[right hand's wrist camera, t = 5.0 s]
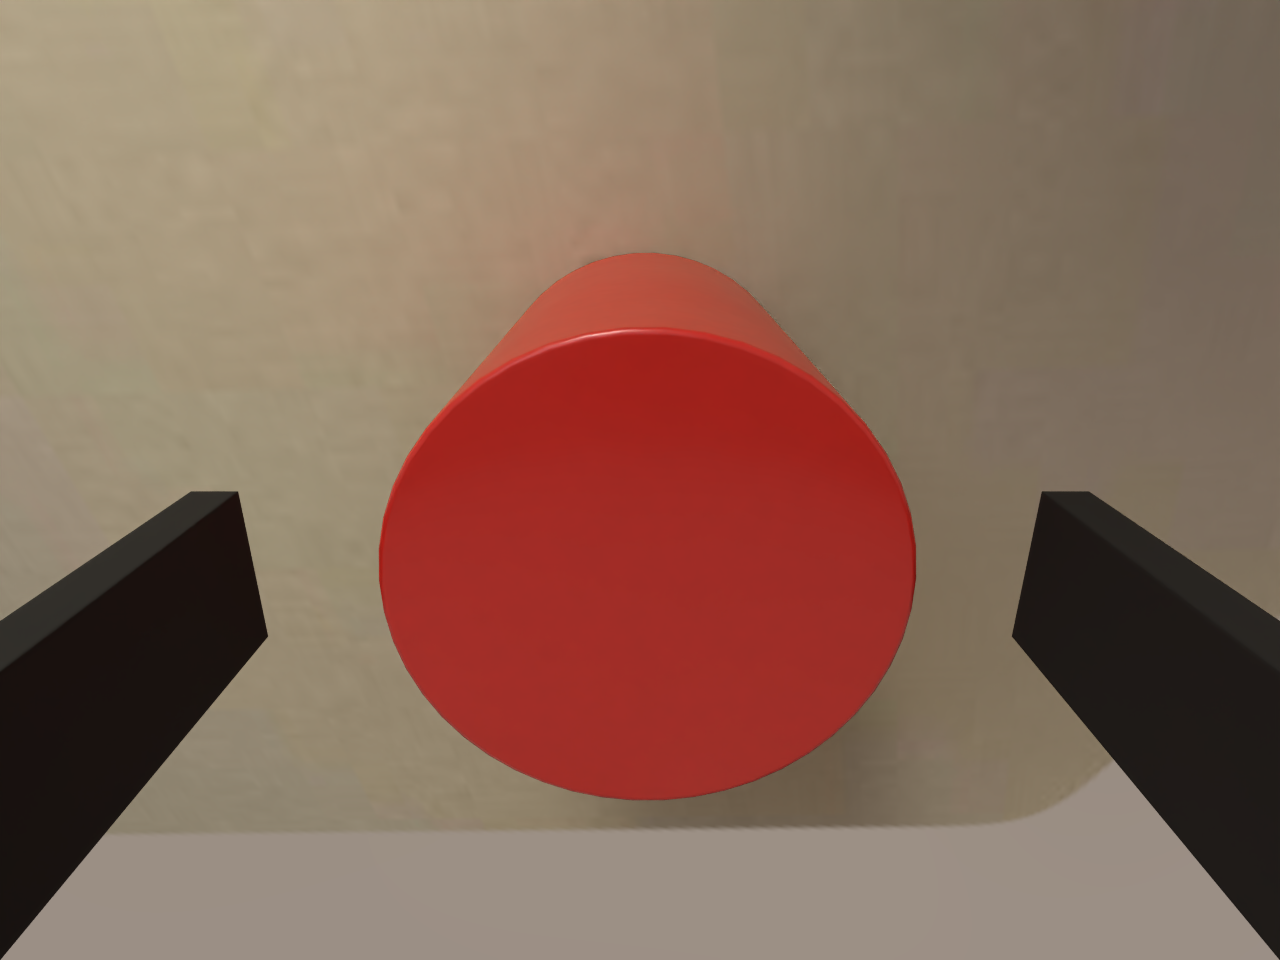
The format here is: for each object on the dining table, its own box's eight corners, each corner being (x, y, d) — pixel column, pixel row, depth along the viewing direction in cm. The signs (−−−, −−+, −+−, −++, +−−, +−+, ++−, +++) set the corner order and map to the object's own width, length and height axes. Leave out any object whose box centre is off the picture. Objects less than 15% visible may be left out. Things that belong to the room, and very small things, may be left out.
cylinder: (852, 417, 20) (1023, 616, 11) (634, 587, 22) (627, 874, 13) (659, 181, 18) (674, 190, 9) (436, 394, 20) (264, 577, 11)
